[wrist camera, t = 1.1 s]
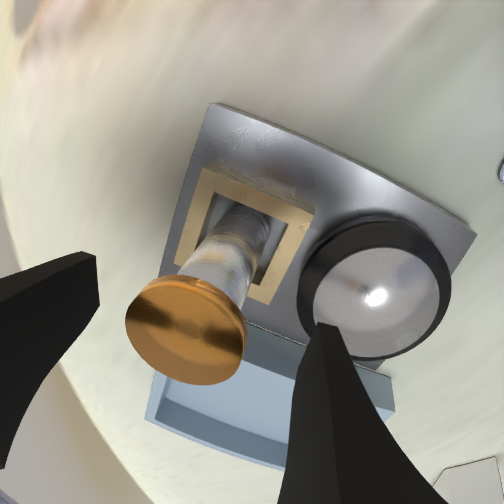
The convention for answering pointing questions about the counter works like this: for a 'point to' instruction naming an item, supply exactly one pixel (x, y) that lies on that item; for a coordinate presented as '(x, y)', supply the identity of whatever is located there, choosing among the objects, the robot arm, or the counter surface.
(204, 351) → the lock pin
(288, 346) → the tray
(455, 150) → the counter surface
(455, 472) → the medicine bottle
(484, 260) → the counter surface
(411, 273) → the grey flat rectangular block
